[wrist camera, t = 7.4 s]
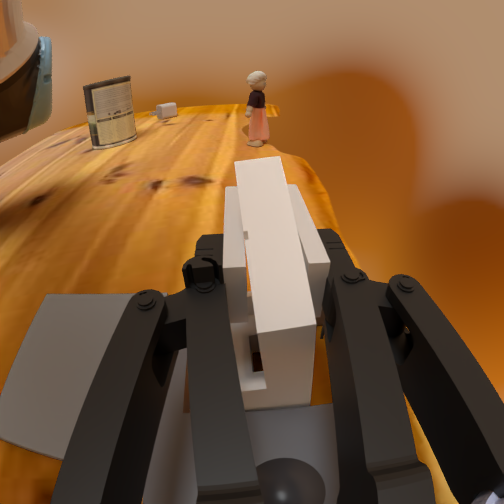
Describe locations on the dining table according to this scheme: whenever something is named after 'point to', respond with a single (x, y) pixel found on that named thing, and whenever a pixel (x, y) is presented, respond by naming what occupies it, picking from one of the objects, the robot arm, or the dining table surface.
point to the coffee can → (110, 112)
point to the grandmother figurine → (257, 110)
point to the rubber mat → (57, 369)
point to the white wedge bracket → (273, 294)
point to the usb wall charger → (165, 111)
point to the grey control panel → (263, 447)
